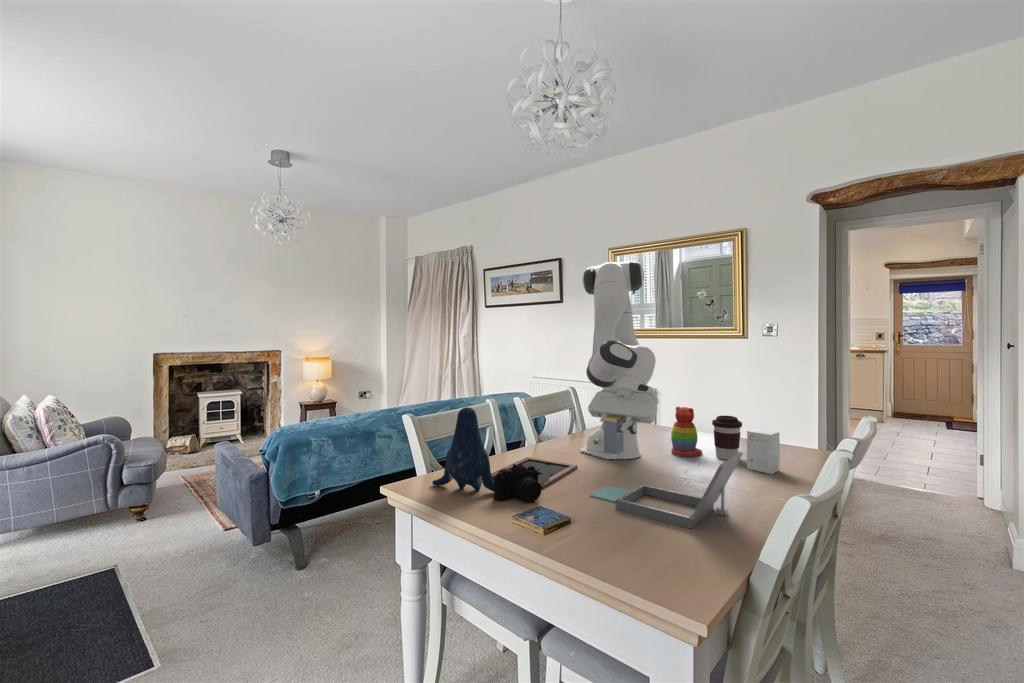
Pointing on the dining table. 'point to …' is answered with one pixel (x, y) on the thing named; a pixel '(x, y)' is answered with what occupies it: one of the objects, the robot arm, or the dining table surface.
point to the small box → (763, 451)
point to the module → (613, 435)
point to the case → (682, 498)
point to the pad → (609, 493)
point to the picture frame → (544, 470)
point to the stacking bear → (684, 434)
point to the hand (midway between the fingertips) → (612, 430)
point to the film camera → (517, 484)
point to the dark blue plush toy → (467, 455)
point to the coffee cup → (726, 436)
